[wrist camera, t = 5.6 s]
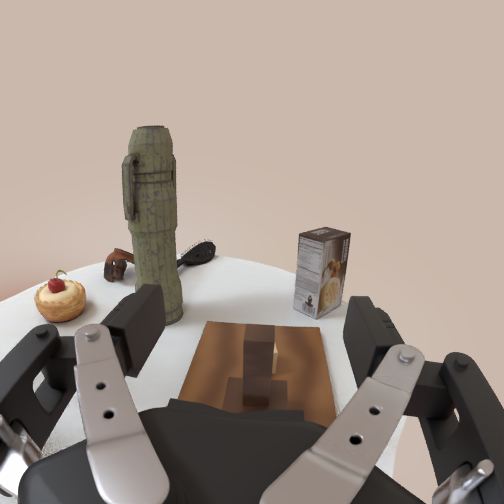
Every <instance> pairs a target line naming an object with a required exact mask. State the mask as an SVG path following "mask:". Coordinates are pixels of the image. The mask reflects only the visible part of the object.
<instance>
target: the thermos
mask: <svg viewBox="0 0 504 504" xmlns="http://www.w3.org/2000/svg"><path fill="white" fill-rule="evenodd" d="M172 144H173V143H172V139H171V136H170V133H169V130H168V128H164V126H143V127H138V128H137V130H134V131H133V133H132V136H131V139H130V142H129V146H128V150H129V151H128V152H129V153H128V156H126V157H125V159H124V161H123V163H122V181H123V182H122V184H123V203H124V212H125V219H126V220H128V229H129V231H130V233H131V235H132V243H133V254H134V262H135V271H136V278H137V279H136V284H135V292H136V291H137V290H138V289H139V288H140V287H141V286H142V285H143V284H144V283H146V284H157V285H161V286H162V289H163V296H164V305H165V313H166V325H170V324H173V323H175V322H177V321H178V320H179V319H180V318H181V317H182V315H183V310H182V303H183V300H182V287H181V281H180V279H179V277H178V273H177V259H176V242H175V230H176V227H177V200H176V199H177V198H176V160H175V157H174V155H173V154H172V152H173V149H172V148H173V145H172ZM166 325H165V326H166Z"/></svg>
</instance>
